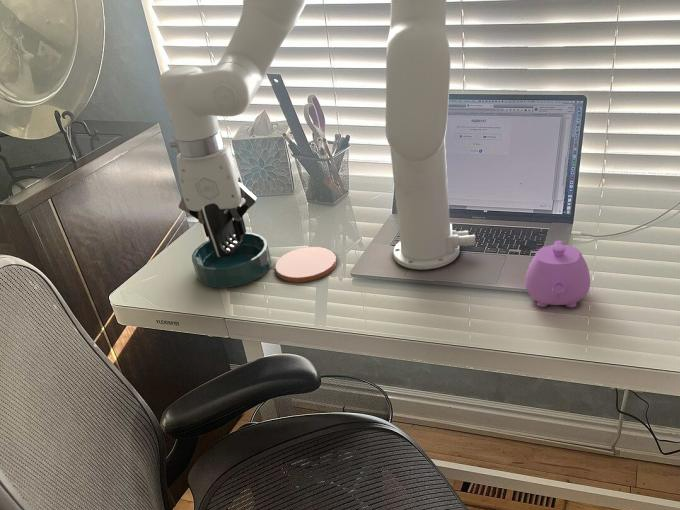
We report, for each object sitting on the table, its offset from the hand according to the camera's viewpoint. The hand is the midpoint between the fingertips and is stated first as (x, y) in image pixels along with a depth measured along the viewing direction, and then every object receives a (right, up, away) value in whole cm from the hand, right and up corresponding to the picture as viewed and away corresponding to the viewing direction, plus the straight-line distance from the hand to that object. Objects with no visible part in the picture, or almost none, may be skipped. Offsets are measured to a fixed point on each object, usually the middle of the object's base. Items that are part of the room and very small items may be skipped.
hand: (227, 237), depth 128 cm
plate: (+14, -5, +3) cm, 15 cm away
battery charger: (+1, -2, +2) cm, 3 cm away
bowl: (0, -6, +4) cm, 7 cm away
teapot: (+58, -12, -14) cm, 61 cm away
